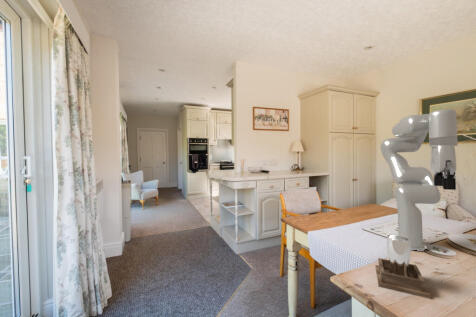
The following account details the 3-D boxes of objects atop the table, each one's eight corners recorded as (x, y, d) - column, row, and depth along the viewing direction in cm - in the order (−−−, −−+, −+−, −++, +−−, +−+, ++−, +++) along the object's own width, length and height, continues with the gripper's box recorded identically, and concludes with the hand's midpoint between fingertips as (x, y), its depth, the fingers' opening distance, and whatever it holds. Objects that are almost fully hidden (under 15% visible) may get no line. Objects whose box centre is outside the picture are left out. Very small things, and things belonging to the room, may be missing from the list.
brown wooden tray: (375, 267, 85) (375, 256, 85) (419, 276, 78) (418, 264, 78) (378, 286, 73) (378, 273, 73) (430, 298, 66) (430, 284, 66)
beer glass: (416, 284, 72) (414, 241, 72) (394, 282, 73) (392, 241, 73) (404, 273, 78) (403, 234, 78) (384, 271, 80) (383, 233, 80)
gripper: (423, 144, 86) (424, 184, 86) (437, 142, 71) (438, 190, 71) (447, 143, 82) (449, 185, 82) (467, 140, 68) (469, 191, 68)
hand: (444, 187), depth 77 cm, fingers open, 9 cm apart
